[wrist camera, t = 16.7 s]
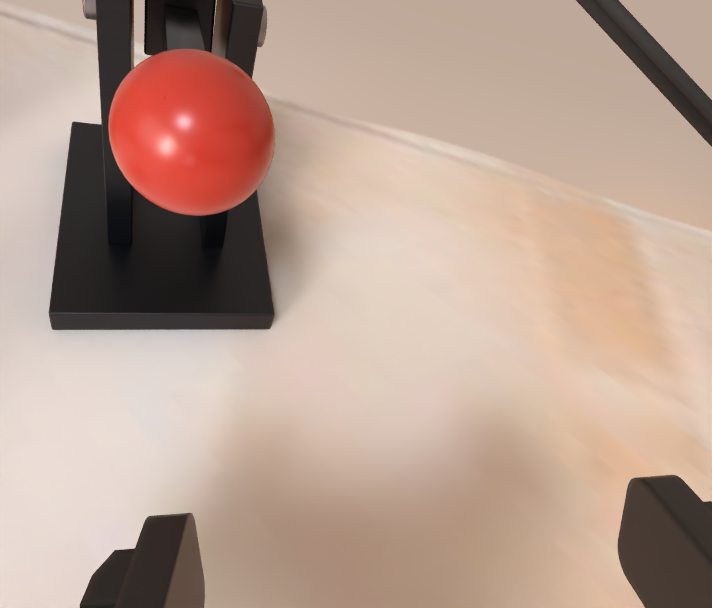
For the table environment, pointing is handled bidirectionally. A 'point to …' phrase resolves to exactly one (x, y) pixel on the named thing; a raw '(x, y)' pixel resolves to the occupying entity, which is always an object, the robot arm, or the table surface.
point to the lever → (189, 117)
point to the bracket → (154, 215)
